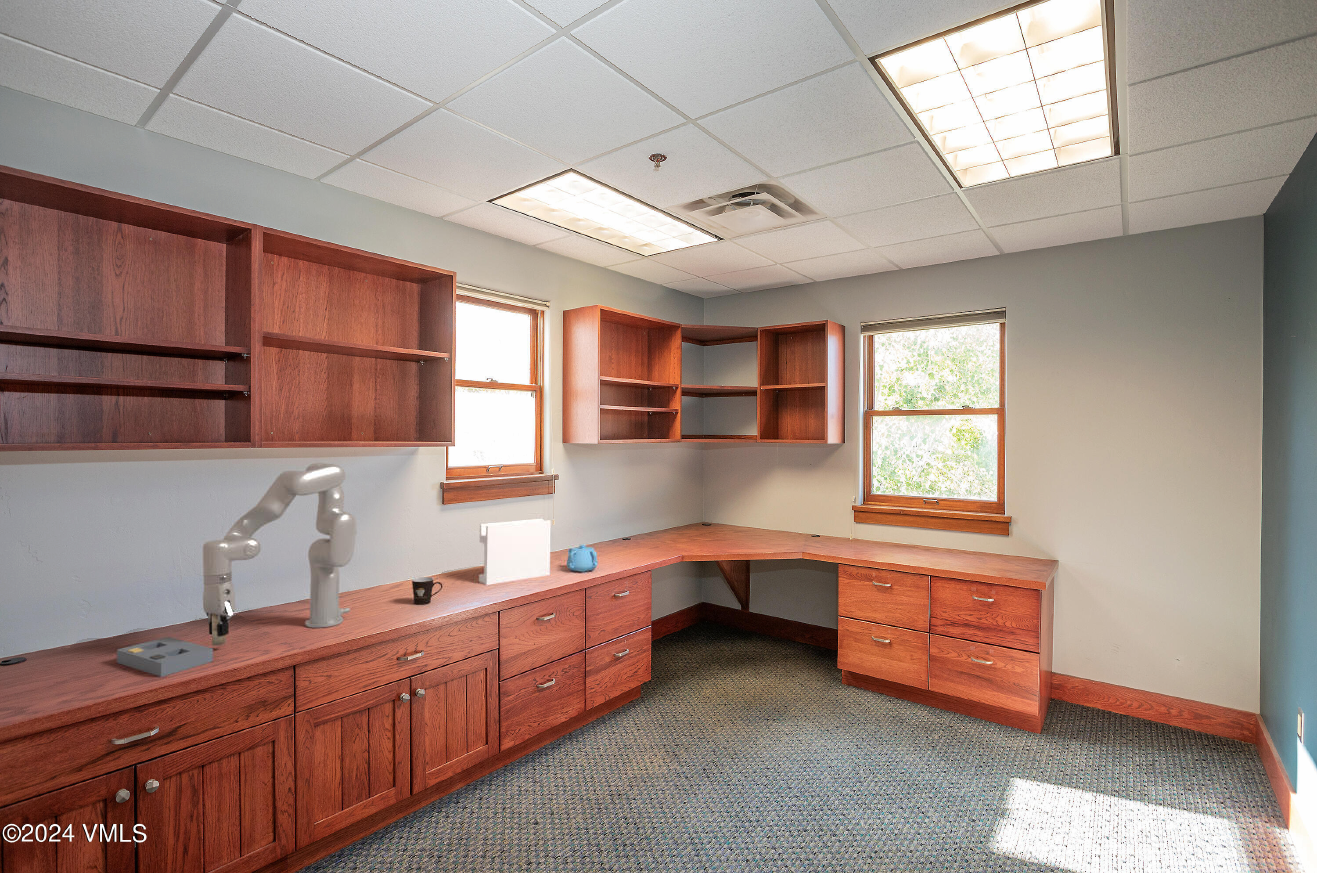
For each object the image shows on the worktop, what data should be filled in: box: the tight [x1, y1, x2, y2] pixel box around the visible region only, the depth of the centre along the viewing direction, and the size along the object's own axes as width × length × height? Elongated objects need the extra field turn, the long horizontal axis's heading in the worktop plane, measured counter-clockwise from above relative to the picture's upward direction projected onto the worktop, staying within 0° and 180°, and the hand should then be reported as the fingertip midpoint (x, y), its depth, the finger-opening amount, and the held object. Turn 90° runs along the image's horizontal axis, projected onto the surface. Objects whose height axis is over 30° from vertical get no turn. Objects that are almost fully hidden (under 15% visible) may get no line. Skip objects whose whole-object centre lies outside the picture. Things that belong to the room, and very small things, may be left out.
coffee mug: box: [411, 576, 443, 606], centre depth 264 cm, size 12×9×10 cm
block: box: [478, 518, 552, 586], centre depth 312 cm, size 35×8×28 cm, turn 132°
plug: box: [211, 611, 227, 647], centre depth 205 cm, size 4×4×10 cm
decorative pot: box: [566, 544, 599, 573], centre depth 333 cm, size 16×16×14 cm
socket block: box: [116, 636, 214, 678], centre depth 194 cm, size 14×24×4 cm, turn 65°
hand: (218, 633), depth 205 cm, fingers closed on plug, 3 cm apart
